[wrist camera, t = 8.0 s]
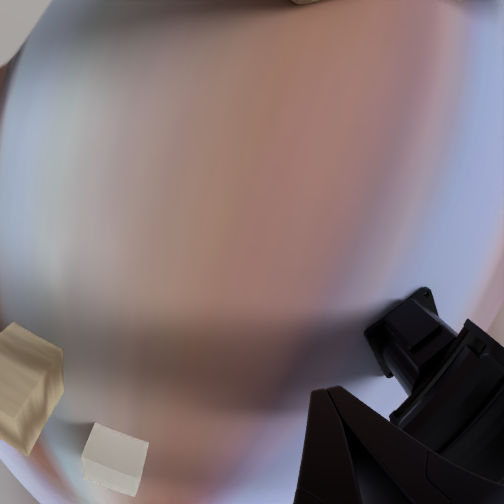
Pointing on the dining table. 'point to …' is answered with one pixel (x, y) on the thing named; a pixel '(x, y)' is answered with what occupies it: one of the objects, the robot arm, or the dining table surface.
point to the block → (304, 1)
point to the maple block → (27, 385)
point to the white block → (114, 459)
